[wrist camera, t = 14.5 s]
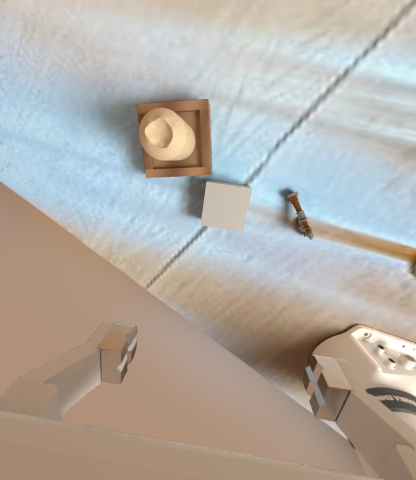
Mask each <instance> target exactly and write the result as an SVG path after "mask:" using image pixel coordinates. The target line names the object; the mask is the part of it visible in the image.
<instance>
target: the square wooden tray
mask: <svg viewBox="0 0 416 480" xmlns="http://www.w3.org/2000/svg"><path fill="white" fill-rule="evenodd" d="M155 108H167V109H170V110H172V111H174V112H175V113H176V114H177V115H178V116H180V117H181V118H182V119H183V120H184V121H185V122H186V123H187V124H188V125H189V126H190V127H191V128H192V130H193V132H194V134H195V141H196V142H195V147H194V150H193V152H192V153H191V155H190V156H189V157H187V158H186V159H183V160H177V161H163V160H157V159H155V158H153V157H151V156H150V155H149V154H148V153H147V152H146V151H145V150H144V149H143V156H144V164H145V172H146V178H152V177H177V176H202V175H211V174H212V150H211V121H210V104H209V101H208V99H202V100H187V101H173V102H159V103H144V104H137V109H138V117H139V125H140V123H141V121H142V119H143V117H144V116H145V115H146V114H147V113H148V112H149V111H151V110H153V109H155ZM142 148H143V147H142Z"/></svg>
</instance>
